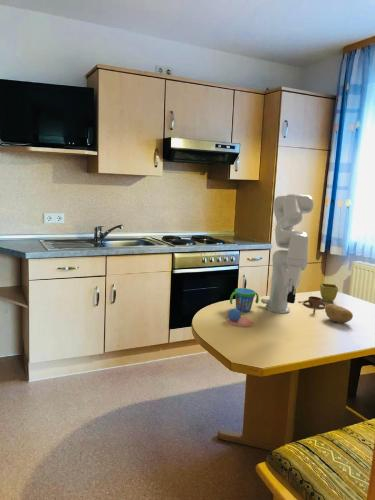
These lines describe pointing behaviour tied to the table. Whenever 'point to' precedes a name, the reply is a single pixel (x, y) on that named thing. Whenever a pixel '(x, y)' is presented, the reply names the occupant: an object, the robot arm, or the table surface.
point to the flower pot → (328, 291)
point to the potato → (338, 313)
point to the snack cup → (244, 298)
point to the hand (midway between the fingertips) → (290, 302)
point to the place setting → (314, 303)
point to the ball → (234, 315)
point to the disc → (241, 322)
